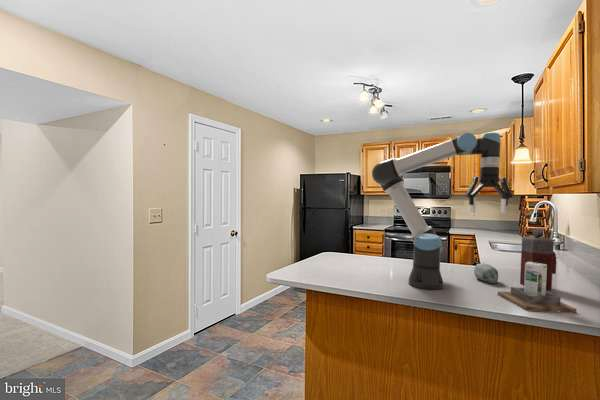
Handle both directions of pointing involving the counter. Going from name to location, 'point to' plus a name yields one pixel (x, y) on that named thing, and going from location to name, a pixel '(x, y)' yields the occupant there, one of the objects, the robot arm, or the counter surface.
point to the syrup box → (535, 278)
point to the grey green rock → (486, 273)
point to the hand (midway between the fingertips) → (487, 212)
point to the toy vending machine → (538, 255)
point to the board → (536, 301)
